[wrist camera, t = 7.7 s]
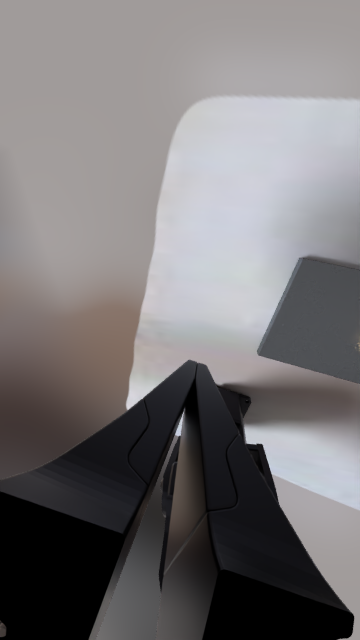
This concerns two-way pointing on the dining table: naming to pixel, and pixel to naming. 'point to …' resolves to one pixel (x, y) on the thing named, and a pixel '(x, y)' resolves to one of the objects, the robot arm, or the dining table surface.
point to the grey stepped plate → (318, 321)
